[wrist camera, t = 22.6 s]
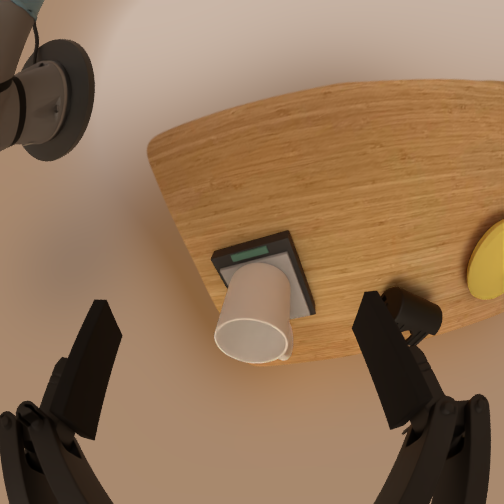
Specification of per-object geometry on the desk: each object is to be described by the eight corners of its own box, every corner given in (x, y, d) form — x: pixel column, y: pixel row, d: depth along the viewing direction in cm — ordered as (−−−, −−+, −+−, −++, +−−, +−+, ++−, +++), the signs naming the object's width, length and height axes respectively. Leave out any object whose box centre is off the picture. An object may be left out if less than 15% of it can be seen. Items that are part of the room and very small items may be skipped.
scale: (214, 251, 38) (209, 261, 36) (288, 230, 35) (288, 240, 33) (251, 317, 45) (249, 329, 43) (315, 305, 42) (315, 317, 39)
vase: (515, 273, 32) (532, 296, 26) (457, 299, 37) (471, 327, 31) (525, 200, 25) (549, 221, 19) (461, 224, 30) (484, 251, 24)
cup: (265, 249, 34) (256, 307, 26) (316, 306, 38) (318, 364, 30) (218, 278, 38) (199, 334, 29) (270, 327, 42) (264, 382, 33)
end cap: (434, 294, 37) (447, 323, 32) (409, 321, 41) (418, 350, 36) (394, 275, 36) (407, 306, 31) (368, 306, 40) (376, 338, 35)
